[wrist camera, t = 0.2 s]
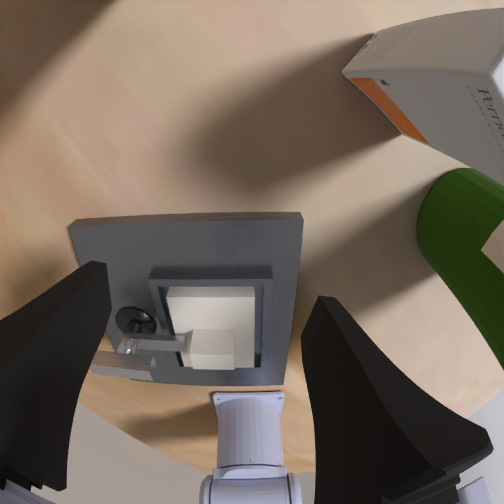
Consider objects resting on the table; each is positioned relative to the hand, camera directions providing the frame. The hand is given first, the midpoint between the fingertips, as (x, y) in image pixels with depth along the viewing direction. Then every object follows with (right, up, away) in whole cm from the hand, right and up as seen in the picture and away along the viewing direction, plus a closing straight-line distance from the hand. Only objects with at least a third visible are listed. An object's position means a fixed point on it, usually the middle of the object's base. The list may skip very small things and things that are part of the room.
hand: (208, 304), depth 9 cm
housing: (-3, -3, +14) cm, 15 cm away
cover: (-1, -4, +13) cm, 13 cm away
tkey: (-7, -4, +12) cm, 15 cm away
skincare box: (+10, +12, +5) cm, 16 cm away
